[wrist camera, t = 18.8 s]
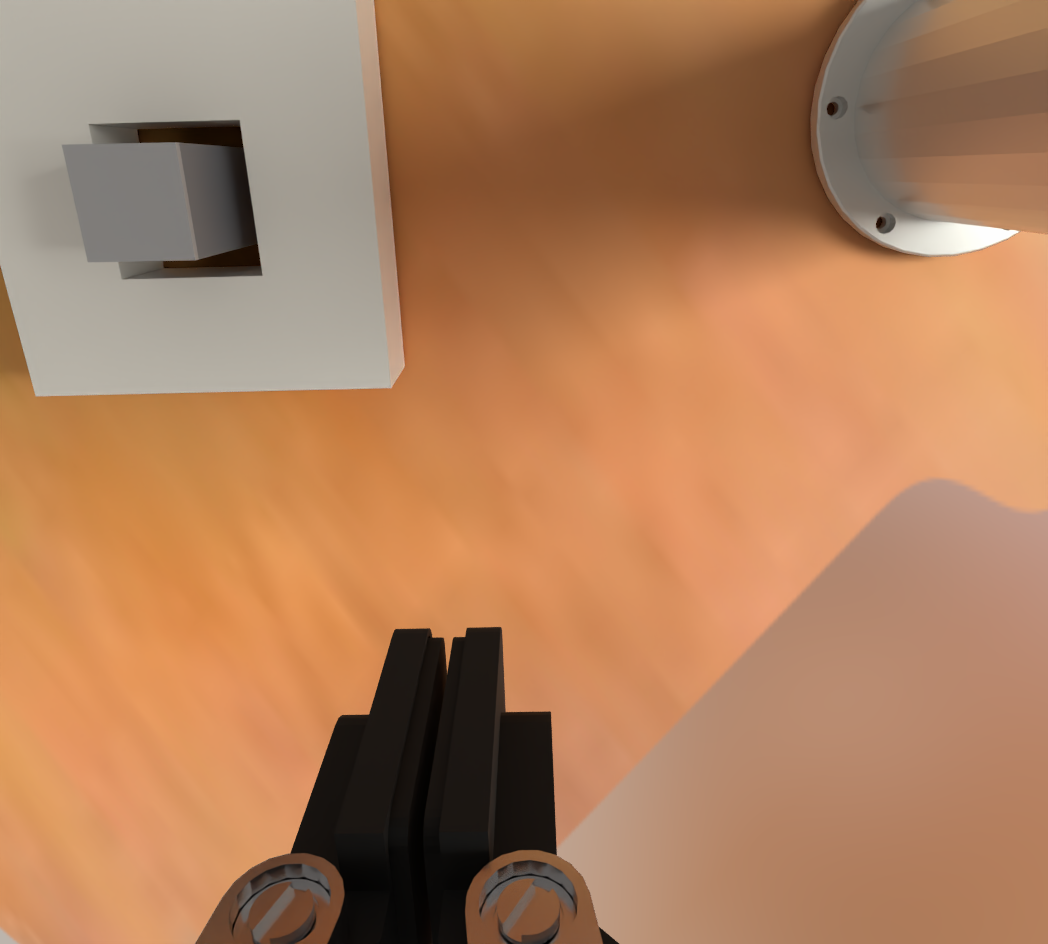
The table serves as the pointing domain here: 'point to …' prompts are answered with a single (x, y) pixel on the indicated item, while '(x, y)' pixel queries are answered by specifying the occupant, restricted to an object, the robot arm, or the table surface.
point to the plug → (160, 200)
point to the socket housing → (274, 179)
